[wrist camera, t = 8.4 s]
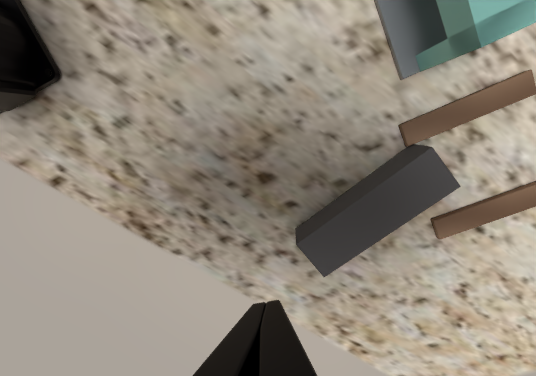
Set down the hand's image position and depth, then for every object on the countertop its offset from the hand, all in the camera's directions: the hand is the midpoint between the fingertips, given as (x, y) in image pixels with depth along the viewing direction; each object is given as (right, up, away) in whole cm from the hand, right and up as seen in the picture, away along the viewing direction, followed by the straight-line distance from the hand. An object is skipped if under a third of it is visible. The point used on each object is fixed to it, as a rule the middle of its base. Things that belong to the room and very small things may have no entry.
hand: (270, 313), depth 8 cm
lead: (+7, +3, +11) cm, 13 cm away
